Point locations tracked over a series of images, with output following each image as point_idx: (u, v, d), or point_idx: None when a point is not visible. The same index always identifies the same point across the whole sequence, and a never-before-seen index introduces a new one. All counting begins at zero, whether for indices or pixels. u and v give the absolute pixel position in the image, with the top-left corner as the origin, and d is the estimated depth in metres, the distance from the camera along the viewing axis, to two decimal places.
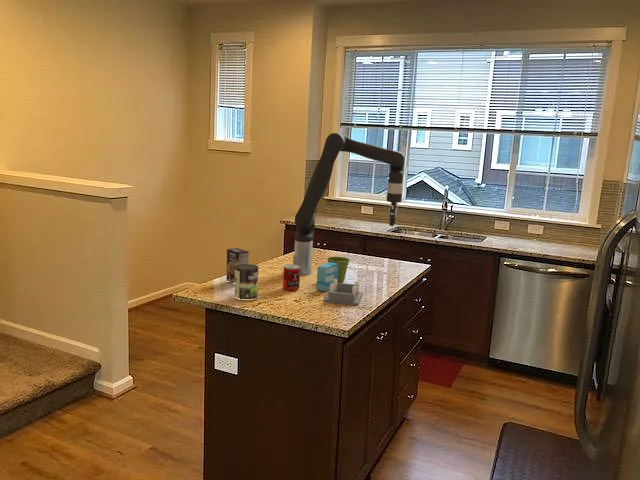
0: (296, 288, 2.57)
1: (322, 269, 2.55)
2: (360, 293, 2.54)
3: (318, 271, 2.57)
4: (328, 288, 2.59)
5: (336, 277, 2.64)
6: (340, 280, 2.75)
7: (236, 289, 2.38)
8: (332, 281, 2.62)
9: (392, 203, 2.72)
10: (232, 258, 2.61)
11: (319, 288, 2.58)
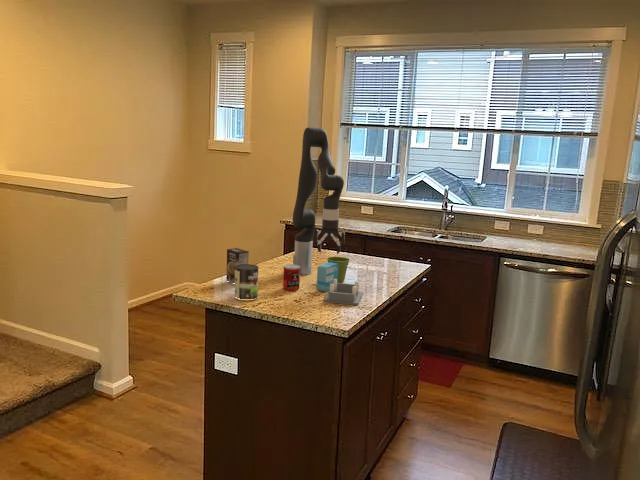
0: (296, 288, 2.57)
1: (322, 269, 2.55)
2: (360, 293, 2.54)
3: (318, 271, 2.57)
4: (328, 288, 2.59)
5: (336, 277, 2.64)
6: (340, 280, 2.75)
7: (236, 289, 2.38)
8: (332, 281, 2.62)
9: (337, 230, 2.56)
10: (232, 258, 2.61)
11: (319, 288, 2.58)
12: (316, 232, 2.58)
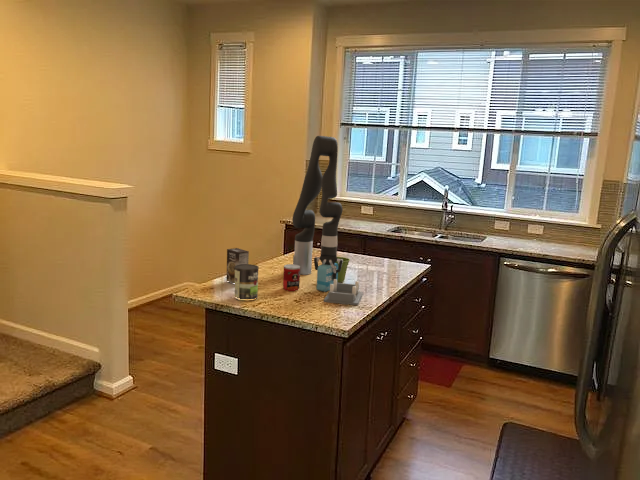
0: (296, 288, 2.57)
1: (322, 269, 2.55)
2: (360, 293, 2.54)
3: (318, 271, 2.57)
4: (328, 288, 2.59)
5: (336, 277, 2.65)
6: (340, 280, 2.75)
7: (236, 289, 2.38)
8: (332, 281, 2.62)
9: (336, 256, 2.59)
10: (232, 258, 2.61)
11: (319, 288, 2.58)
12: (315, 260, 2.60)
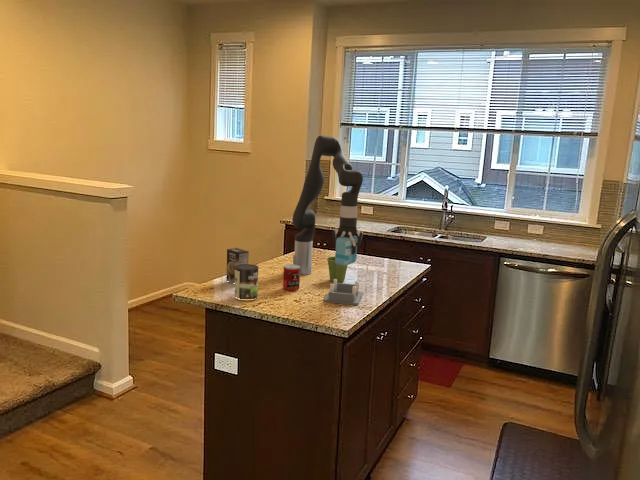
0: (296, 288, 2.57)
1: (341, 241, 2.39)
2: (360, 293, 2.54)
3: (337, 244, 2.40)
4: (347, 262, 2.43)
5: None
6: (340, 280, 2.75)
7: (236, 289, 2.38)
8: (351, 255, 2.45)
9: (356, 228, 2.42)
10: (232, 258, 2.61)
11: (338, 262, 2.41)
12: (333, 232, 2.44)
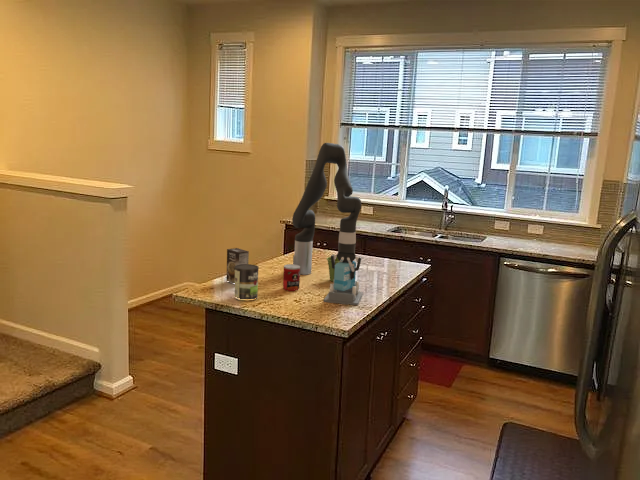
0: (296, 288, 2.57)
1: (340, 267, 2.41)
2: (360, 293, 2.54)
3: (335, 269, 2.42)
4: (346, 288, 2.45)
5: (354, 276, 2.50)
6: None
7: (236, 289, 2.38)
8: (350, 280, 2.47)
9: (354, 254, 2.44)
10: (232, 258, 2.61)
11: (336, 287, 2.43)
12: (332, 257, 2.46)
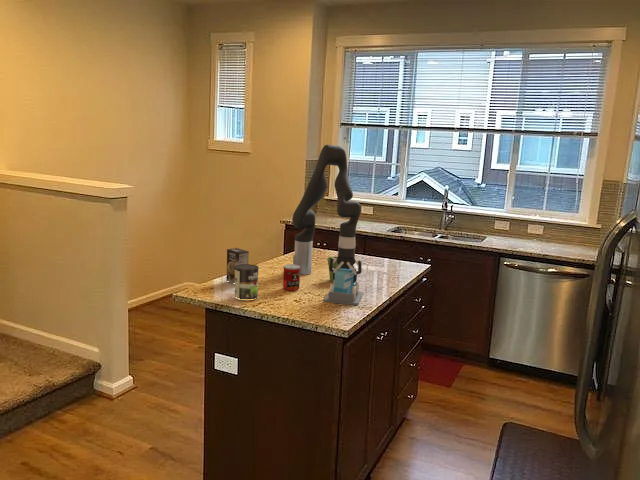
0: (296, 288, 2.57)
1: (340, 275, 2.42)
2: (360, 293, 2.54)
3: (335, 277, 2.43)
4: None
5: (353, 283, 2.51)
6: None
7: (236, 289, 2.38)
8: (349, 287, 2.48)
9: (354, 258, 2.45)
10: (232, 258, 2.61)
11: None
12: (331, 260, 2.46)
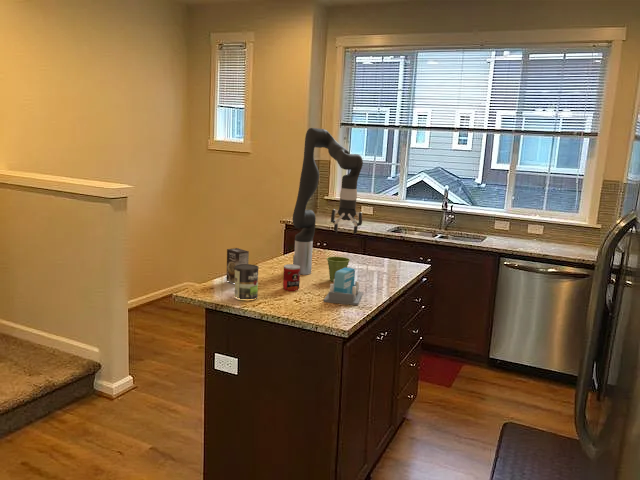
0: (296, 288, 2.57)
1: (340, 275, 2.42)
2: (360, 293, 2.54)
3: (335, 277, 2.43)
4: None
5: (353, 283, 2.51)
6: None
7: (236, 289, 2.38)
8: (349, 287, 2.48)
9: (355, 210, 2.52)
10: (232, 258, 2.61)
11: None
12: (333, 212, 2.54)
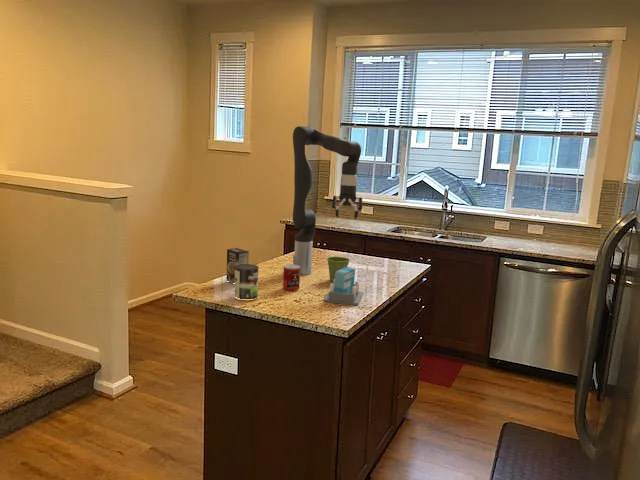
0: (296, 288, 2.57)
1: (340, 275, 2.42)
2: (360, 293, 2.54)
3: (335, 277, 2.43)
4: None
5: (353, 283, 2.51)
6: None
7: (236, 289, 2.38)
8: (349, 287, 2.48)
9: (355, 195, 2.62)
10: (232, 258, 2.61)
11: None
12: (334, 198, 2.63)
